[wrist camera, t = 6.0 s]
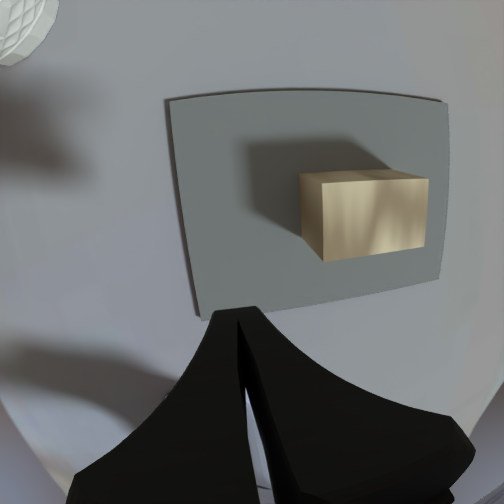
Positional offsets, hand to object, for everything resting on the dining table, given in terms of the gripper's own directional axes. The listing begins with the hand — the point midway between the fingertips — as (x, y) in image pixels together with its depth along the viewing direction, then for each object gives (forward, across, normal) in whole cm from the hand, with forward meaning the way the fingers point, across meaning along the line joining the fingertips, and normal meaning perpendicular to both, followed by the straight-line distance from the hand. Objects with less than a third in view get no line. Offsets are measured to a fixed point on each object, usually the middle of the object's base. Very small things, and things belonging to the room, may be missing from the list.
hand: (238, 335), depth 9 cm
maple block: (+8, -5, -1) cm, 9 cm away
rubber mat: (+10, -7, -2) cm, 13 cm away
